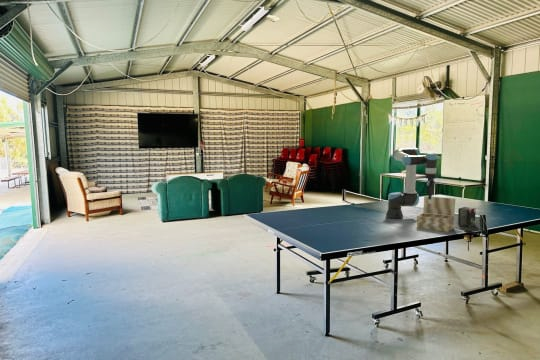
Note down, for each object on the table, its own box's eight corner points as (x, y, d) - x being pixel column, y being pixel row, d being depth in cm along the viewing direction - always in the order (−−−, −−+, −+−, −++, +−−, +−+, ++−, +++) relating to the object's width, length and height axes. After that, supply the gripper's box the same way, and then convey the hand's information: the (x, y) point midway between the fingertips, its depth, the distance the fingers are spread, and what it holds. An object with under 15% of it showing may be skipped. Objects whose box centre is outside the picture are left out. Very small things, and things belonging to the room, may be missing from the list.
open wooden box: (416, 227, 289) (416, 215, 288) (423, 224, 299) (423, 212, 298) (448, 231, 273) (448, 219, 272) (453, 228, 283) (454, 216, 282)
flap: (424, 196, 298) (424, 196, 299) (423, 212, 298) (423, 212, 299) (454, 198, 281) (455, 198, 282) (454, 216, 282) (454, 215, 283)
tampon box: (469, 227, 285) (469, 209, 283) (457, 225, 292) (458, 208, 291) (475, 225, 291) (476, 208, 290) (464, 223, 299) (464, 206, 297)
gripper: (432, 174, 266) (432, 204, 268) (438, 172, 275) (438, 202, 278) (422, 173, 271) (422, 204, 273) (428, 172, 280) (428, 201, 283)
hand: (430, 203), depth 276 cm, fingers closed
